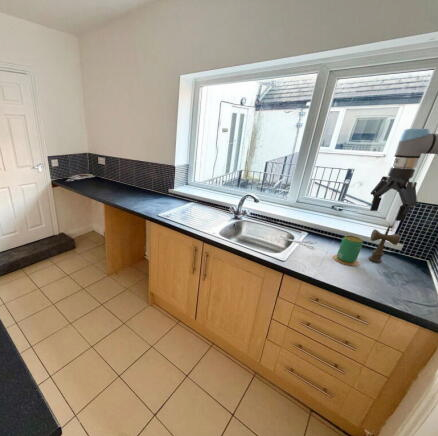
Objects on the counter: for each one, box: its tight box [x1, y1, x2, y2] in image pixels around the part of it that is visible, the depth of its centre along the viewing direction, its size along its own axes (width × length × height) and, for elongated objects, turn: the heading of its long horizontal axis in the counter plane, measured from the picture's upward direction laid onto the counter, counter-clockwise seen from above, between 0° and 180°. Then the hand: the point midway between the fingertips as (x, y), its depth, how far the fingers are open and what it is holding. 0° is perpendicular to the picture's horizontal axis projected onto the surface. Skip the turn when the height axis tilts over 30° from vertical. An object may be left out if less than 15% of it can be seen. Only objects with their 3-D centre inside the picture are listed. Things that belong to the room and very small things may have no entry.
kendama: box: [368, 225, 401, 264], centre depth 121 cm, size 6×10×20 cm, turn 58°
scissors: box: [279, 235, 318, 250], centre depth 144 cm, size 11×1×20 cm
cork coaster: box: [332, 254, 360, 267], centre depth 125 cm, size 11×11×1 cm
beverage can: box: [336, 235, 364, 263], centre depth 123 cm, size 8×8×12 cm
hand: (385, 215), depth 109 cm, fingers open, 13 cm apart
